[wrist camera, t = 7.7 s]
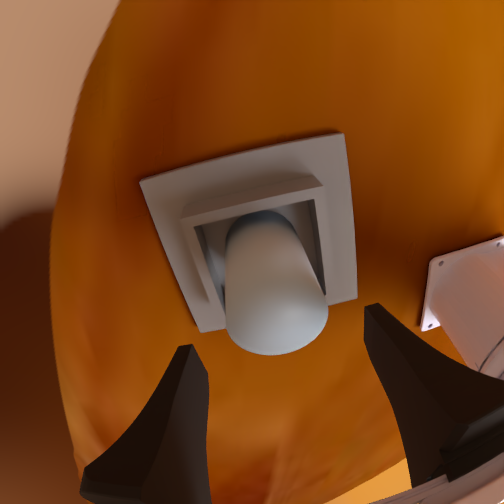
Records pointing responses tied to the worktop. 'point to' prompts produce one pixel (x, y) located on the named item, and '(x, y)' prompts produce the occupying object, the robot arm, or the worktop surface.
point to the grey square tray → (252, 200)
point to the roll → (270, 286)
